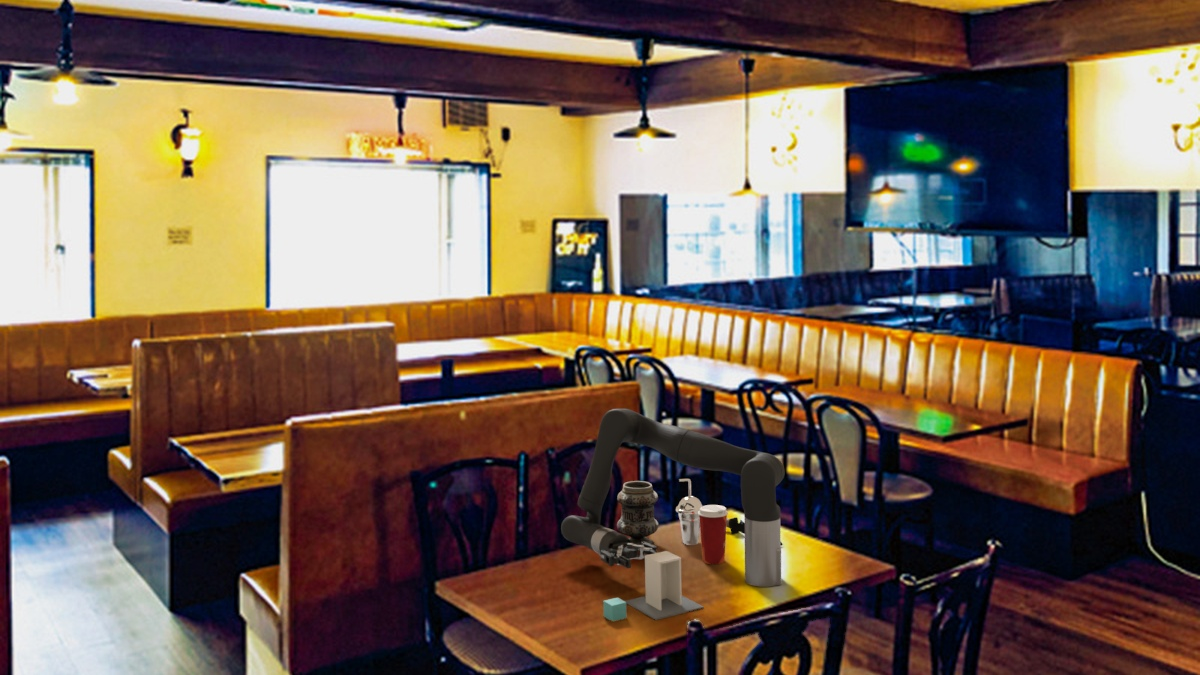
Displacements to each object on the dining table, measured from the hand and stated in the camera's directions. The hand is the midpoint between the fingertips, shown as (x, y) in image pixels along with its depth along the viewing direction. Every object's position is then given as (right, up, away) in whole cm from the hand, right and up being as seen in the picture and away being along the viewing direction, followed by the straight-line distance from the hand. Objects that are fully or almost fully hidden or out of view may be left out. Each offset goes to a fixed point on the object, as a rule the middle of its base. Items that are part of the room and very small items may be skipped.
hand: (644, 561), depth 272 cm
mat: (+5, -10, -6) cm, 12 cm away
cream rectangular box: (+5, -9, -6) cm, 12 cm away
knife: (+31, -3, +49) cm, 58 cm away
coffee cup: (+20, -6, +27) cm, 34 cm away
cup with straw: (+15, -4, +43) cm, 46 cm away
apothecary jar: (0, -4, +43) cm, 43 cm away
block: (-7, -11, -13) cm, 19 cm away
